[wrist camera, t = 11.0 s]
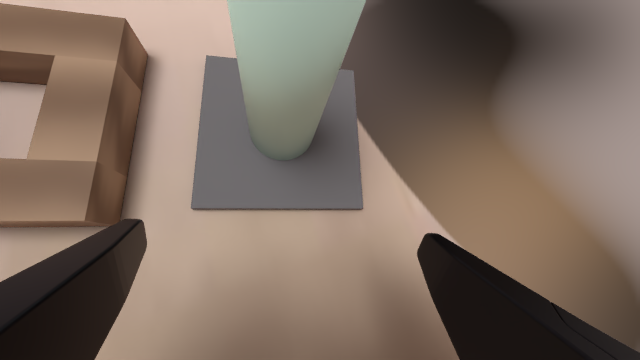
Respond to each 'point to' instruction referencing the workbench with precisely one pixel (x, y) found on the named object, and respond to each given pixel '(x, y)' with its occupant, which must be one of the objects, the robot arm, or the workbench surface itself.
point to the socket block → (71, 115)
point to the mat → (266, 173)
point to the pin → (289, 66)
